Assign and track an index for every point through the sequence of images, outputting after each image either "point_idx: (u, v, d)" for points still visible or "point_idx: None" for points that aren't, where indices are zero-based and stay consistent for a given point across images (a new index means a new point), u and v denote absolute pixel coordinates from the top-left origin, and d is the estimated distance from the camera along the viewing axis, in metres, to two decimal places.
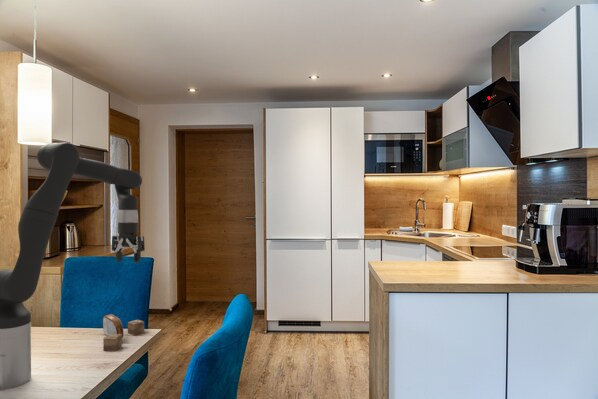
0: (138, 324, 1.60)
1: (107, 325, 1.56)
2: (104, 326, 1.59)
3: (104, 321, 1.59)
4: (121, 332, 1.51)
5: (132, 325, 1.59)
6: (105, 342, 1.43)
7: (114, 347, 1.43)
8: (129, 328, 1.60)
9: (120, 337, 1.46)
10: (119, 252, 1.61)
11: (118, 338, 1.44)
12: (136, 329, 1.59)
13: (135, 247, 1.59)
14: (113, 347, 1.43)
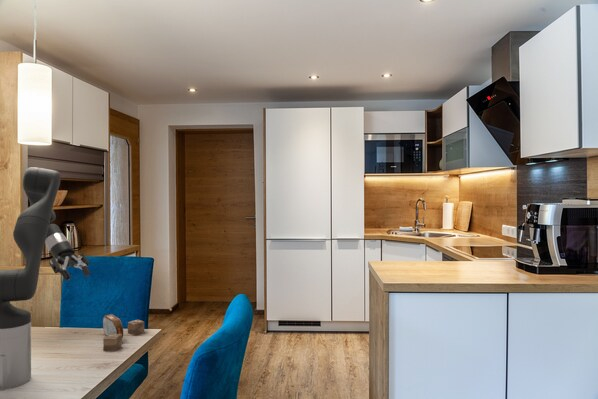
0: (138, 324, 1.60)
1: (107, 325, 1.56)
2: (104, 326, 1.59)
3: (104, 321, 1.59)
4: (121, 332, 1.51)
5: (132, 325, 1.59)
6: (105, 342, 1.43)
7: (114, 347, 1.43)
8: (129, 328, 1.60)
9: (120, 337, 1.46)
10: None
11: (118, 338, 1.44)
12: (136, 329, 1.59)
13: (79, 264, 1.64)
14: (113, 347, 1.43)
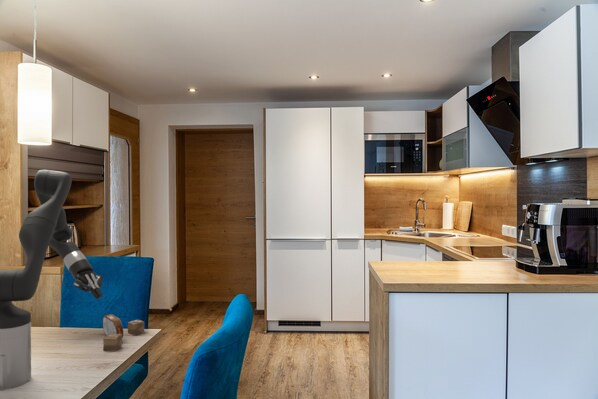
0: (138, 324, 1.60)
1: (107, 325, 1.56)
2: (104, 326, 1.59)
3: (104, 321, 1.59)
4: (121, 332, 1.51)
5: (132, 325, 1.59)
6: (105, 342, 1.43)
7: (114, 347, 1.43)
8: (129, 328, 1.60)
9: (120, 337, 1.46)
10: None
11: (118, 338, 1.44)
12: (136, 329, 1.59)
13: None
14: (113, 347, 1.43)
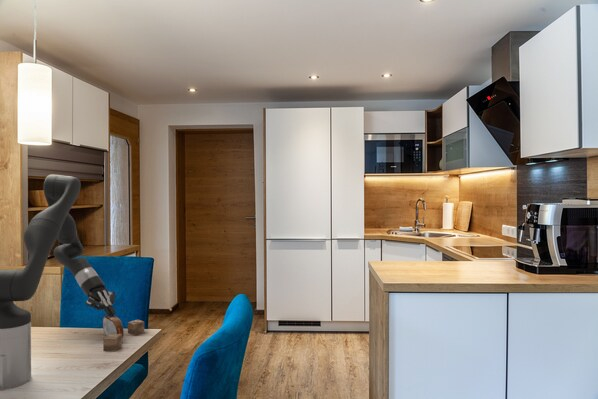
0: (138, 324, 1.60)
1: (107, 325, 1.56)
2: (104, 326, 1.59)
3: (104, 321, 1.59)
4: (121, 332, 1.51)
5: (132, 325, 1.59)
6: (105, 342, 1.43)
7: (114, 347, 1.43)
8: (129, 328, 1.60)
9: (120, 337, 1.46)
10: None
11: (118, 338, 1.44)
12: (136, 329, 1.59)
13: (106, 302, 1.58)
14: (113, 347, 1.43)
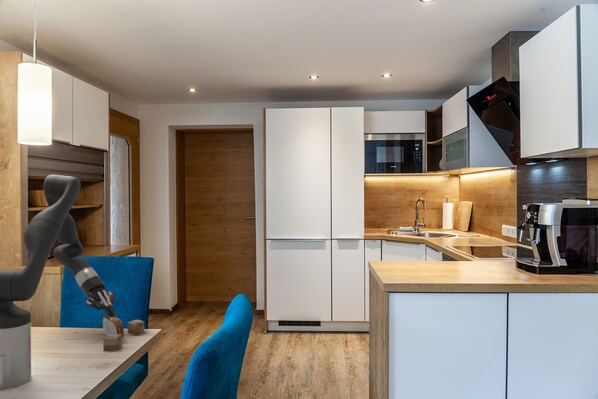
0: (138, 324, 1.60)
1: (107, 326, 1.56)
2: (104, 326, 1.59)
3: (104, 321, 1.58)
4: (121, 332, 1.51)
5: (132, 325, 1.59)
6: (105, 342, 1.43)
7: (114, 347, 1.43)
8: (129, 328, 1.60)
9: (120, 337, 1.46)
10: None
11: (118, 338, 1.44)
12: (136, 329, 1.59)
13: (106, 302, 1.58)
14: (113, 347, 1.43)
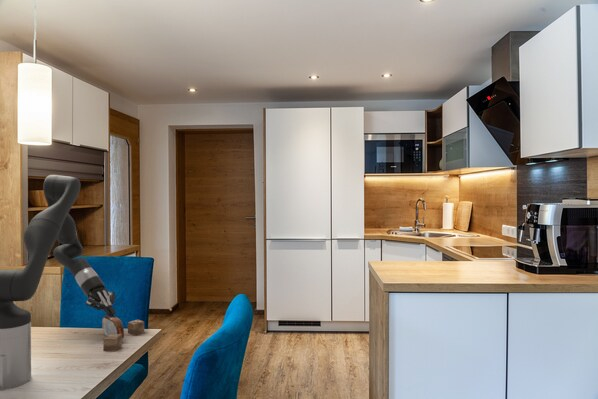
0: (138, 324, 1.60)
1: (107, 326, 1.56)
2: (103, 326, 1.58)
3: (103, 321, 1.58)
4: (122, 332, 1.51)
5: (132, 325, 1.59)
6: (105, 342, 1.43)
7: (114, 347, 1.43)
8: (129, 328, 1.60)
9: (120, 337, 1.46)
10: None
11: (118, 338, 1.44)
12: (136, 329, 1.59)
13: (106, 302, 1.58)
14: (113, 347, 1.43)
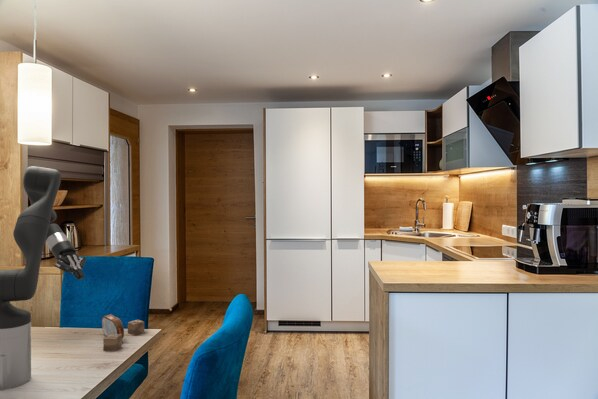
0: (138, 324, 1.60)
1: (107, 326, 1.56)
2: (103, 326, 1.58)
3: (103, 321, 1.58)
4: (122, 332, 1.51)
5: (132, 325, 1.59)
6: (105, 342, 1.43)
7: (114, 347, 1.43)
8: (129, 328, 1.60)
9: (120, 337, 1.46)
10: None
11: (118, 338, 1.44)
12: (136, 329, 1.59)
13: None
14: (113, 347, 1.43)
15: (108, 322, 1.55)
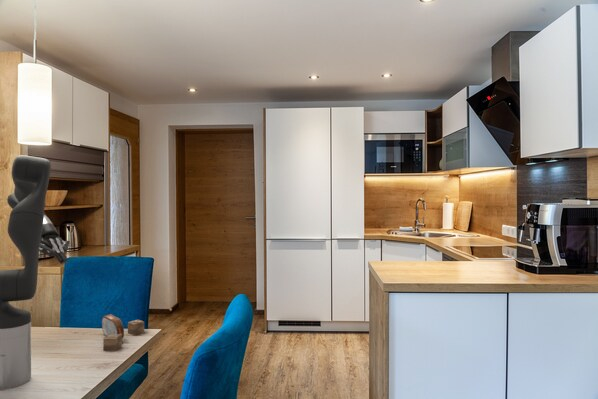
0: (138, 324, 1.60)
1: (107, 326, 1.56)
2: (103, 326, 1.58)
3: (103, 321, 1.58)
4: (122, 332, 1.51)
5: (132, 325, 1.59)
6: (105, 342, 1.43)
7: (114, 347, 1.43)
8: (129, 328, 1.60)
9: (120, 337, 1.46)
10: None
11: (118, 338, 1.44)
12: (136, 329, 1.59)
13: (59, 249, 1.56)
14: (113, 347, 1.43)
15: (108, 322, 1.55)
